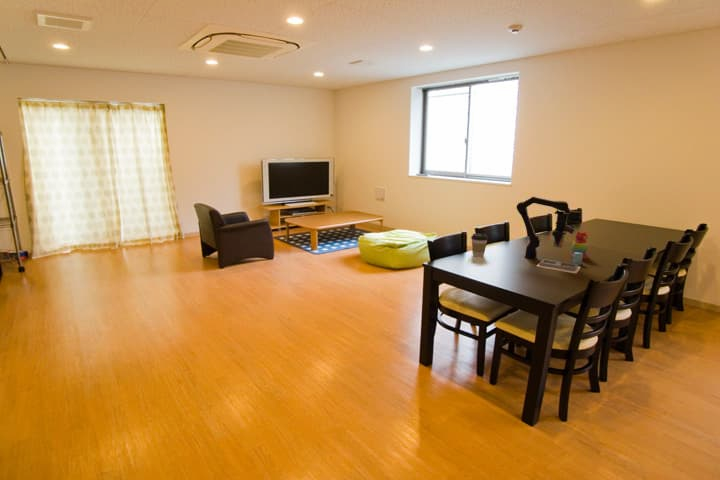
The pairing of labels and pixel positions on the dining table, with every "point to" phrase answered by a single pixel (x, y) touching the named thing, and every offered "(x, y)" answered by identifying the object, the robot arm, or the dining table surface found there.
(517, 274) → the dining table surface
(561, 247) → the walnut block
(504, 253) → the dining table surface
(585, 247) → the stacking bear
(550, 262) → the tray
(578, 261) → the teal cylinder
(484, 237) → the coffee cup
